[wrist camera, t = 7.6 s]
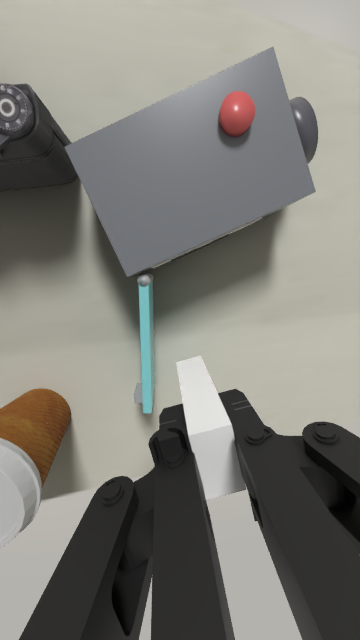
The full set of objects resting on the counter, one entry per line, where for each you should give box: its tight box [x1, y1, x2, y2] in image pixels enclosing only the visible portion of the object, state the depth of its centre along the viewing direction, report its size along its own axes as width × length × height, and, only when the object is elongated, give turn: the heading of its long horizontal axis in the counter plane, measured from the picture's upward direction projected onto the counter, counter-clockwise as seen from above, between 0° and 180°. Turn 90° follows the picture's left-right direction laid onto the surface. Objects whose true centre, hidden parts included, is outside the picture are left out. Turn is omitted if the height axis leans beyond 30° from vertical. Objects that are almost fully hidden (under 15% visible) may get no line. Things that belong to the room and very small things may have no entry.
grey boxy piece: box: [65, 47, 318, 277], centre depth 22 cm, size 18×10×8 cm, turn 114°
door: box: [134, 273, 155, 413], centre depth 25 cm, size 12×2×6 cm, turn 0°
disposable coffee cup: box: [0, 389, 71, 548], centre depth 24 cm, size 10×10×12 cm
